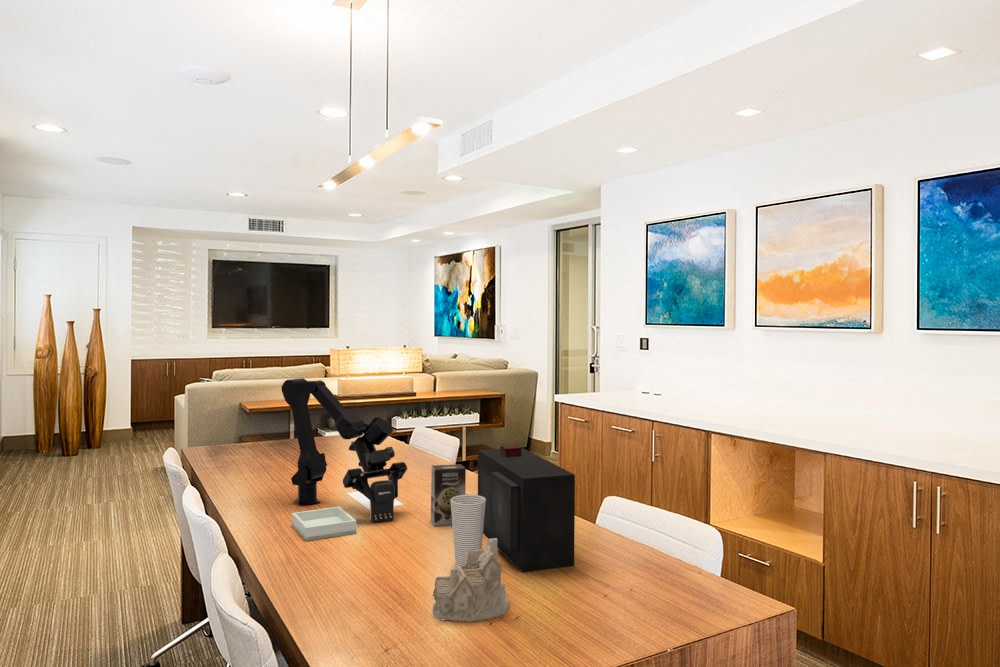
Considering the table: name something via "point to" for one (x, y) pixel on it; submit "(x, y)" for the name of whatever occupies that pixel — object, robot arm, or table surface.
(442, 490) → the coffee box
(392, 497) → the battery charger
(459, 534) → the cup
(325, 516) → the tray
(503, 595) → the ceramic cottage
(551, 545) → the speaker
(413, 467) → the table surface
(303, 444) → the robot arm
